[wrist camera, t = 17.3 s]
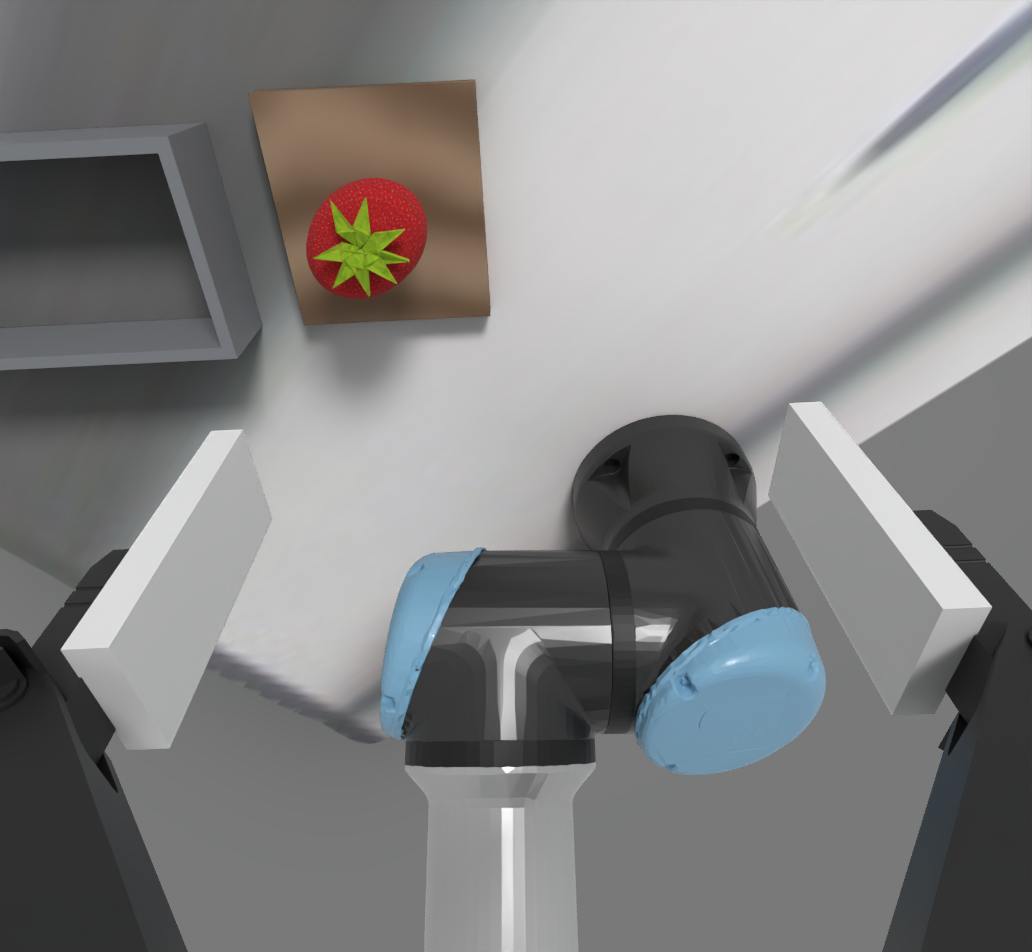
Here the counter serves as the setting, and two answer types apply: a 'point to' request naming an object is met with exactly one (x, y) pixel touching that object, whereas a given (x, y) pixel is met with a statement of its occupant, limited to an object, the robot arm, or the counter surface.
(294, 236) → the display board
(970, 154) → the counter surface
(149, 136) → the crate
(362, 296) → the strawberry
